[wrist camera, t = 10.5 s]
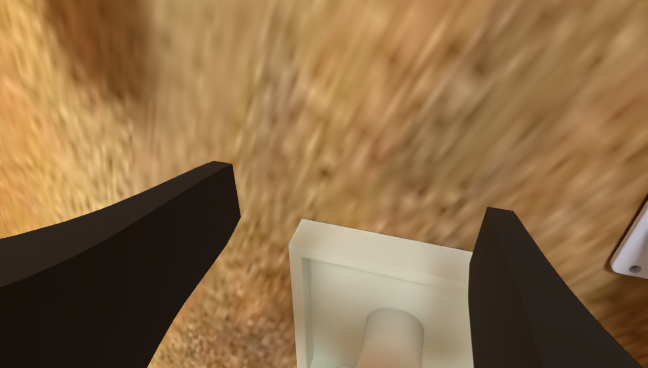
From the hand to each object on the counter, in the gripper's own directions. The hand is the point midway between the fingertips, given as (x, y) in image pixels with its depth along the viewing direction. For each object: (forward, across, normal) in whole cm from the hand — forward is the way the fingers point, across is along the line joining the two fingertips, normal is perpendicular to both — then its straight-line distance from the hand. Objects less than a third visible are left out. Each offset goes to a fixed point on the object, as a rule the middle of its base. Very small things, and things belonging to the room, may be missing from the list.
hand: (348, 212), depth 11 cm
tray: (+9, -2, +16) cm, 19 cm away
